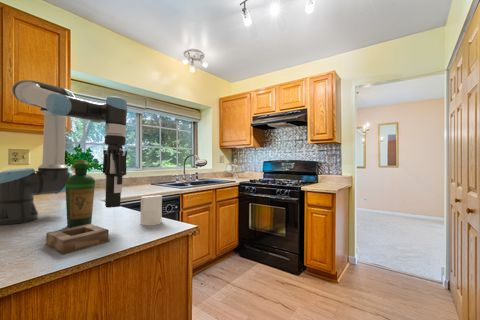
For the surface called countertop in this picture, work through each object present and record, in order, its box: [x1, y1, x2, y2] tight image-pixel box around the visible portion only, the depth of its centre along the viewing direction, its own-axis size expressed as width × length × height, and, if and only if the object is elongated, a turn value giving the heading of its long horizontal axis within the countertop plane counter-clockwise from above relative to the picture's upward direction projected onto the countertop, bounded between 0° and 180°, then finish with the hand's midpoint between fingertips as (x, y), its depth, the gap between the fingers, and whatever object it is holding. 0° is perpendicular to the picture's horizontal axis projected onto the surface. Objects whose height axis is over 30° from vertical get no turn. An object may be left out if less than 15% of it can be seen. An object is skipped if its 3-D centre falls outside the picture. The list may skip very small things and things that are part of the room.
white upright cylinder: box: [139, 194, 163, 226], centre depth 102 cm, size 9×9×12 cm
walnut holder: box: [44, 223, 110, 255], centre depth 75 cm, size 14×14×4 cm
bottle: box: [65, 159, 96, 228], centre depth 96 cm, size 11×11×28 cm
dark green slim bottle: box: [104, 154, 122, 208], centre depth 91 cm, size 5×5×25 cm
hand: (113, 191), depth 91 cm, fingers closed on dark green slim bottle, 6 cm apart
